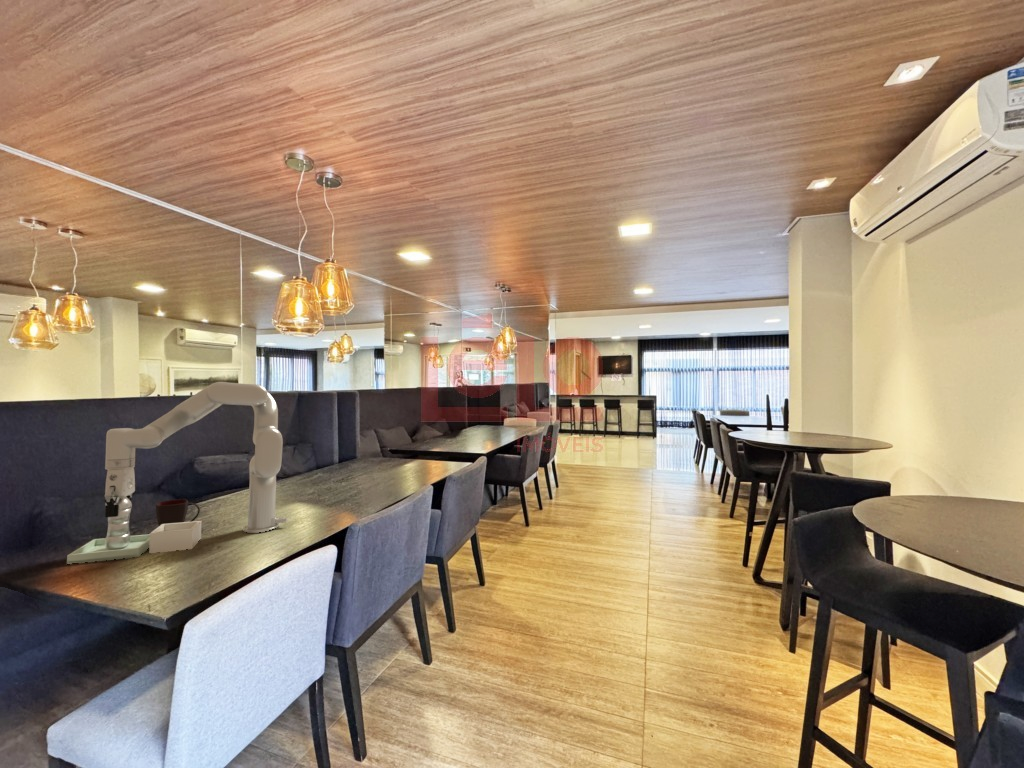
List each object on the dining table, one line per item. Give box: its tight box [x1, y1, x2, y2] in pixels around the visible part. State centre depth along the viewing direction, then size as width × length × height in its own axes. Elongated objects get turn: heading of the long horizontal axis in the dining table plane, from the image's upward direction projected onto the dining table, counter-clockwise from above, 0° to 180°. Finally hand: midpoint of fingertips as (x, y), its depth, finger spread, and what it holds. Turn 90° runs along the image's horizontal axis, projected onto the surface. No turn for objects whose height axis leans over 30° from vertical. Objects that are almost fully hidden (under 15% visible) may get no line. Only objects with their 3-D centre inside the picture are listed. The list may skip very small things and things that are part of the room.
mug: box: [155, 498, 201, 527], centre depth 165 cm, size 10×14×12 cm
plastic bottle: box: [105, 497, 133, 549], centre depth 144 cm, size 6×7×20 cm
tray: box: [66, 533, 150, 565], centre depth 142 cm, size 18×16×3 cm
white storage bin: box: [148, 520, 202, 554], centre depth 149 cm, size 12×11×7 cm
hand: (118, 512), depth 143 cm, fingers open, 9 cm apart
